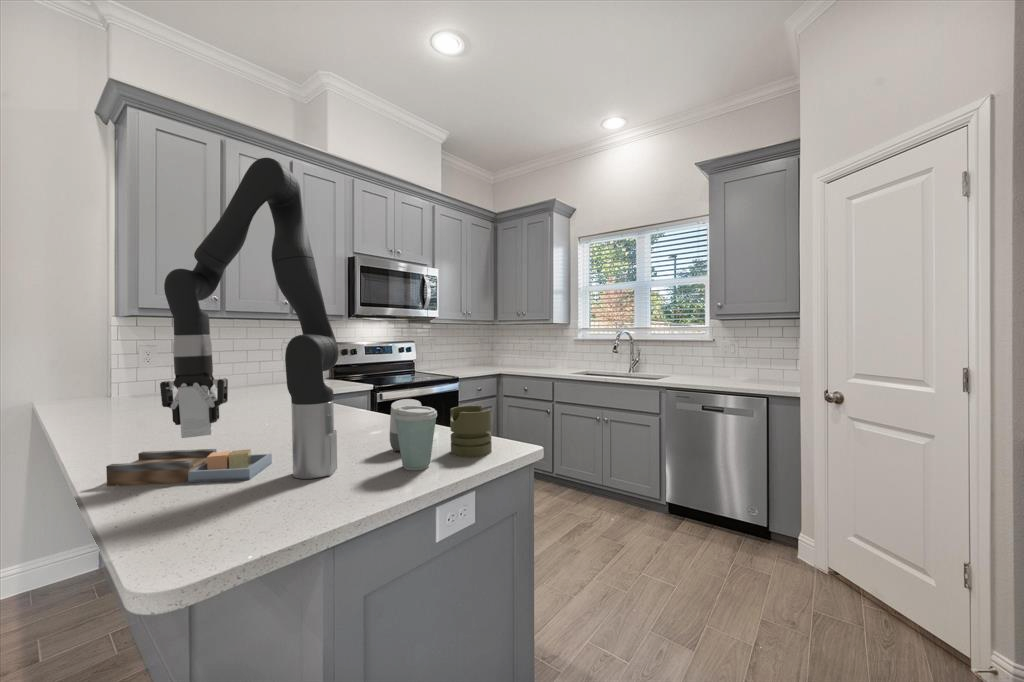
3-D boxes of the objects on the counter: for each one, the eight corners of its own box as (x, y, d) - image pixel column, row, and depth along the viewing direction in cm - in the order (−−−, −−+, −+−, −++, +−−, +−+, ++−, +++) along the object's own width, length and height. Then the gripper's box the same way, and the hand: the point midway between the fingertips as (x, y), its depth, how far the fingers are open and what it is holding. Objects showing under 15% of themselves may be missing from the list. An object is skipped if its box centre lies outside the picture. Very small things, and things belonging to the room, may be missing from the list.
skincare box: (213, 432, 112) (211, 383, 112) (211, 435, 108) (209, 384, 108) (182, 435, 109) (180, 385, 109) (179, 439, 105) (177, 387, 105)
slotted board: (216, 466, 115) (216, 448, 115) (189, 482, 103) (189, 462, 103) (143, 469, 113) (142, 451, 113) (107, 486, 101) (106, 466, 101)
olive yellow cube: (232, 466, 113) (251, 464, 114) (229, 471, 109) (248, 469, 110) (232, 450, 112) (250, 449, 114) (228, 454, 109) (248, 453, 110)
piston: (461, 414, 118) (443, 408, 128) (462, 459, 119) (444, 450, 128) (498, 409, 125) (479, 404, 134) (499, 453, 125) (479, 444, 134)
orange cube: (231, 467, 112) (230, 450, 112) (227, 471, 109) (226, 455, 109) (212, 468, 111) (211, 452, 111) (207, 473, 107) (207, 456, 107)
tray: (271, 463, 117) (271, 453, 117) (249, 479, 104) (249, 468, 104) (217, 465, 116) (217, 456, 116) (188, 482, 103) (188, 471, 103)
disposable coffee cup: (433, 459, 120) (433, 402, 119) (442, 470, 110) (441, 408, 109) (392, 463, 116) (391, 405, 116) (397, 476, 106) (396, 412, 106)
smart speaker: (388, 455, 124) (387, 404, 123) (390, 447, 133) (390, 399, 132) (424, 453, 126) (423, 402, 125) (423, 444, 135) (423, 397, 134)
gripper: (233, 352, 113) (236, 418, 113) (169, 354, 111) (173, 422, 111) (217, 353, 105) (220, 424, 106) (149, 356, 103) (153, 428, 104)
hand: (196, 423), depth 109 cm, fingers closed on skincare box, 7 cm apart
